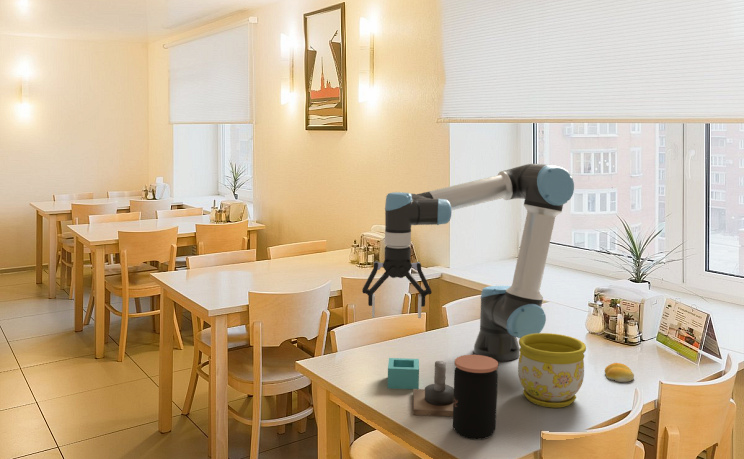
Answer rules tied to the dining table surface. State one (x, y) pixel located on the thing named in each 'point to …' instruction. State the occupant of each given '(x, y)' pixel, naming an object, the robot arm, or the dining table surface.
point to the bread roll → (619, 372)
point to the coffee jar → (475, 396)
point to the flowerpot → (551, 368)
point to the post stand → (435, 395)
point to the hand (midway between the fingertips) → (396, 316)
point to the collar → (403, 373)
